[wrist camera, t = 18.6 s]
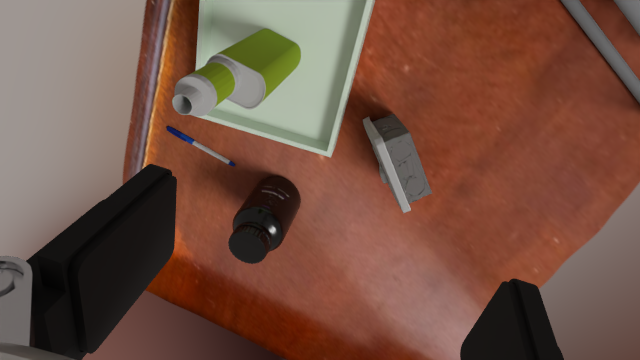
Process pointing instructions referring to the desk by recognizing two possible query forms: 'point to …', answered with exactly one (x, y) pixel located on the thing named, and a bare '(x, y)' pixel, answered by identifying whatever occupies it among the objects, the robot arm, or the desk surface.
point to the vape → (239, 74)
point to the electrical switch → (397, 160)
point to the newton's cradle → (636, 5)
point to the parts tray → (306, 80)
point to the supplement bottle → (264, 219)
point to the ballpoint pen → (198, 145)
